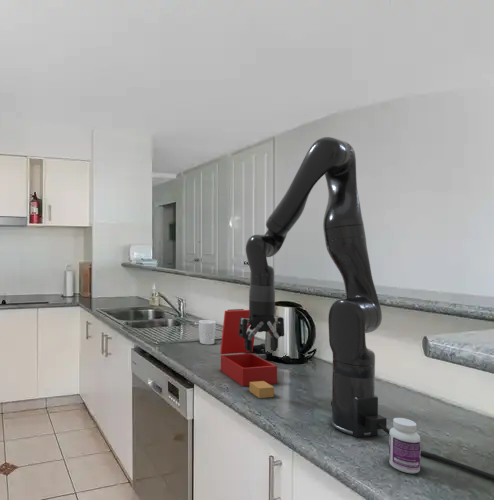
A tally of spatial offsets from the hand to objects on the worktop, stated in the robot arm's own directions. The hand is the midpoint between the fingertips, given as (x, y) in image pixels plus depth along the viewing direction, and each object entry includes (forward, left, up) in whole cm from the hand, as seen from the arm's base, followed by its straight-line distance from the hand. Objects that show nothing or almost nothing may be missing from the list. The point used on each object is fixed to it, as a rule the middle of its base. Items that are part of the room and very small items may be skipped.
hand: (261, 350), depth 122 cm
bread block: (-1, 0, -13) cm, 13 cm away
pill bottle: (-43, -7, -14) cm, 45 cm away
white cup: (+60, -10, -14) cm, 63 cm away
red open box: (+14, -4, -13) cm, 20 cm away
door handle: (+34, -22, -14) cm, 43 cm away
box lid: (+20, -4, +1) cm, 21 cm away
